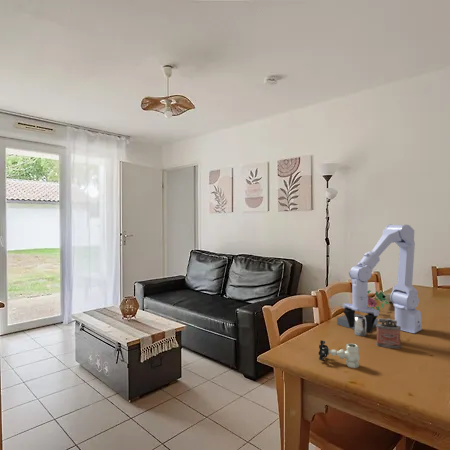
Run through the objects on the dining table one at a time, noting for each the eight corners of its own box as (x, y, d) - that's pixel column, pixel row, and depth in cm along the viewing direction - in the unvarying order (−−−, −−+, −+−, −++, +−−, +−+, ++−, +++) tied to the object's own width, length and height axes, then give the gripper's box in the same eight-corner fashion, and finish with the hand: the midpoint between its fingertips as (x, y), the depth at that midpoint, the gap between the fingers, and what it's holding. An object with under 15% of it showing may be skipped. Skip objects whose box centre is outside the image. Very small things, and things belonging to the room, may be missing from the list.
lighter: (400, 345, 119) (399, 318, 119) (401, 349, 116) (401, 321, 116) (375, 343, 122) (375, 316, 122) (376, 346, 119) (376, 319, 119)
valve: (360, 363, 106) (323, 356, 112) (360, 342, 106) (322, 337, 111) (358, 371, 100) (318, 363, 106) (357, 350, 100) (318, 343, 106)
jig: (377, 325, 142) (377, 318, 142) (362, 331, 134) (362, 324, 134) (352, 319, 151) (352, 312, 151) (337, 324, 144) (337, 317, 144)
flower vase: (396, 317, 178) (376, 317, 152) (374, 306, 186) (352, 305, 160) (404, 297, 177) (386, 294, 151) (382, 287, 185) (361, 283, 160)
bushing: (368, 334, 131) (368, 317, 131) (362, 337, 128) (362, 319, 128) (358, 331, 135) (358, 314, 134) (352, 334, 132) (352, 316, 132)
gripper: (338, 294, 135) (338, 327, 135) (372, 300, 123) (372, 336, 123) (347, 291, 139) (348, 323, 139) (381, 298, 127) (381, 332, 128)
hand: (360, 329), depth 131 cm, fingers open, 7 cm apart
